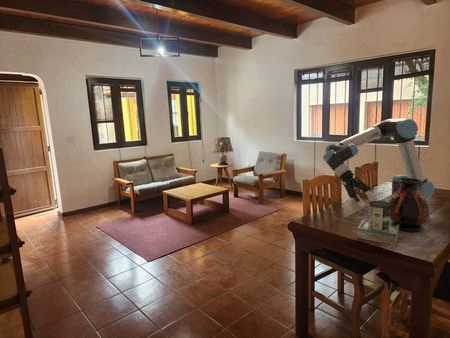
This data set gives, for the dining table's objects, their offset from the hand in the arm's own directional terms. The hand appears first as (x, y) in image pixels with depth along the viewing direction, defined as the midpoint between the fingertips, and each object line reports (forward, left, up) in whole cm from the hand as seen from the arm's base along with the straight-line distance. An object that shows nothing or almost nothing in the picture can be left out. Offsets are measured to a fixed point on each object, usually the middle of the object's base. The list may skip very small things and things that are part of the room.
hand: (369, 203), depth 163 cm
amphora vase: (-19, +17, -17) cm, 31 cm away
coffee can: (+1, +5, -13) cm, 14 cm away
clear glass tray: (+1, +5, -17) cm, 18 cm away
